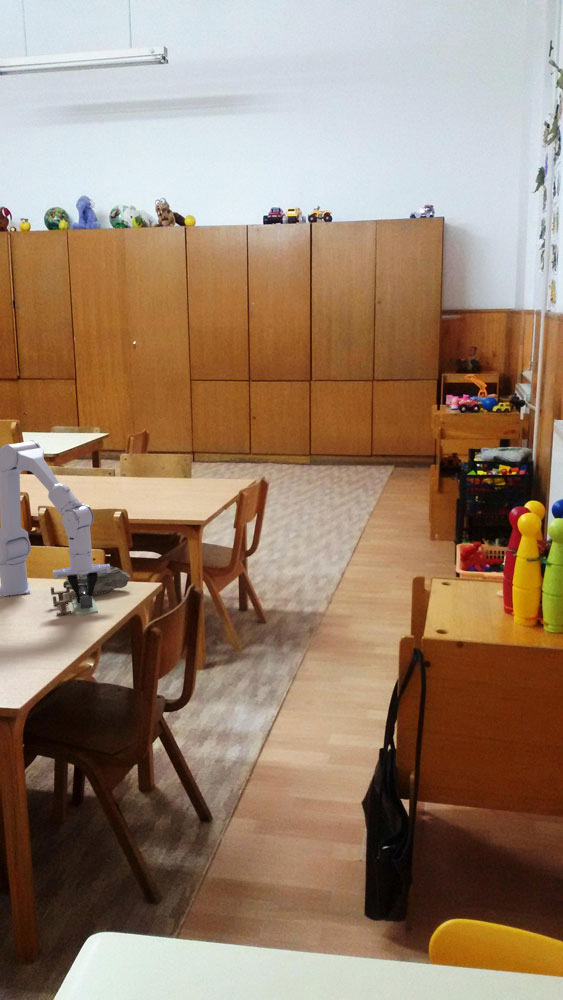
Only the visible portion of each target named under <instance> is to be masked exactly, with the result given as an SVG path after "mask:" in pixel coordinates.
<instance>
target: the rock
mask: <svg viewBox="0 0 563 1000" xmlns="http://www.w3.org/2000/svg"><path fill="white" fill-rule="evenodd" d="M97 575H98V579H97V582H96V584H95V587H94V590H93V595H94V594H101V595H102V594H106V593H107V594H108V593H110V592H112V591H113V590H116V589H122V588H125V587H127V585H128V583H129V581H130V578H131V575H130V573H128V572H126V571H124V570H122V569H121V568H119V567H116V566H115V567H114V566H110V573H106V572H105V573H97ZM77 577H78V584H86V583H87V587H88V581H87V575H79V576H77ZM62 584H63V586H62V587H63V588H64V589H66V585H69V587H70V591H71V590H72V591H74V590H73V588H72V586H71V585H70V583H69V581H68V578H67V577H66V580H65V581H63V583H62Z"/></svg>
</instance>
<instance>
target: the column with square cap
mask: <svg viewBox="0 0 563 1000" xmlns="http://www.w3.org/2000/svg"><path fill="white" fill-rule="evenodd" d="M78 586H79V596H80V608H81V609H84V608H92V607H93V605H92V597H93V595H91V596H89V595H88V587H87V583H86V584H78Z"/></svg>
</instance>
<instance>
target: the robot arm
mask: <svg viewBox="0 0 563 1000" xmlns="http://www.w3.org/2000/svg"><path fill="white" fill-rule="evenodd" d="M44 458H45V451H44V450H43V448H41V446H40V444H39V442H37V441H36V440H29V441H23V442H17V443H11V444H9V443H8V444H4V445H2V446H1V447H0V597H8V596H9V595H10V596H15V595H16V596H17V594H18V595H24V594H23V593H26V594H30V593H31V588H30V582H28V572H27V559H28V556H29V555H30V554H31V551H32V545H31V542H30V539H29V532H28V531H27V530H26V529H24V528H23V527H22V511H21V509H22V508H21V505H22V503H21V477H20V474H21V473H22V472H23V471H27V472H31V473H32V474H33V475H34V477H35V478H36V479H38V481H39V482H40V483H41V484H42V486H44V488H45V489H46V490H47V491H48V495H47V497H48V500H49V501H50V502H51V503H52V505H53V506H54V508H56V510H57V512H59V514H60V515H61V516H62V518H61V521H60V522H61V524H62V526H63V528H64V530H65V535H66V537H67V539H68V541H67V542H68V552H69V553H68V554H69V567H65V568H59V569H53V570H52V572H53V573H52V574H53V580H58V579H61V578H66V579H67V578H68V581H69V583H70V585H71V586H72V588H73V590H72V591H73V592H74V595H75V597H76V598H75V599H77V603H80V596H79V586H78V577H77V576H79V575H87V581H88V595H89V596H91V595H92V596H93V595H94V594H93V590H94V587H95V584H96V582H97V579H98V575H97V573H105V572H106V573H110V567H111V565H110V563H104V564H93V562H94V561H93V551H92V550H93V549H92V538H91V537H92V535H91V526H92V525H93V523H94V520H95V515H94V511H93V510H92V508H91V506H89V505H87V504H86V503H83V502H81V501H80V500H79V499H78V498H77V497H76V496H75V493H73V492H72V490H71V488H70V487H69V486H68V485H67V484H64V483H60V482H59V480H58V479H57V477H56V475H55V474H54V472H53V471H52V469H51V468H50V467H49V465H48V464H47V462H46V460H45V459H44ZM28 560H29V559H28ZM10 596H9V597H10Z"/></svg>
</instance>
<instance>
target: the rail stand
mask: <svg viewBox="0 0 563 1000" xmlns="http://www.w3.org/2000/svg"><path fill="white" fill-rule="evenodd" d="M50 594H51V596H52V604H53V605H54V606H55V605H59V606H58V607H59V609H60V611H57V612H56V617H61V616H68V615H69V614H70V615H72V610H67V605H66V604H68V605H69V604H70V603H72V602H73V600H74V599H73V594H71V589H70V587H69V585H66V588H65V590H59V591H55V587H54V586H51V587H50ZM64 594H68V599H66V600H65V599H64ZM54 595H55V596H54ZM56 595H58V596H56ZM57 597H58V600H57Z"/></svg>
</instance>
